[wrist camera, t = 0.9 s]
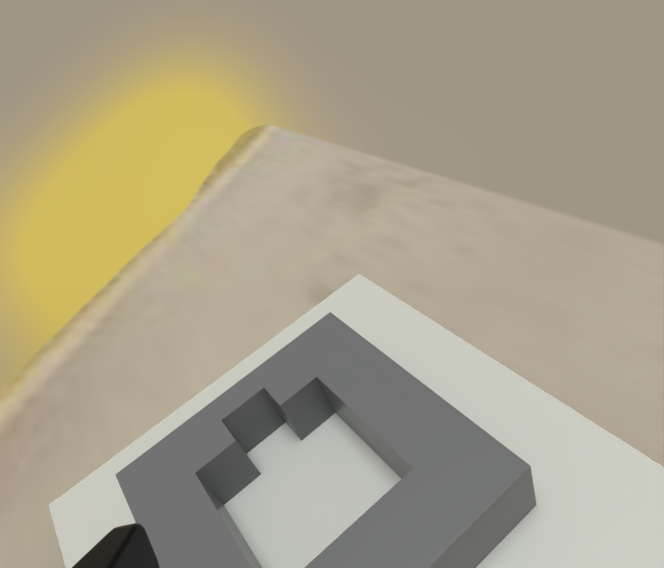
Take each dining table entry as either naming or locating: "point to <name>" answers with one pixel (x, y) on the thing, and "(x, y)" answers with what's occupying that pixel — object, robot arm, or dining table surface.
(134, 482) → the socket block
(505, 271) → the dining table surface
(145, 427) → the dining table surface
